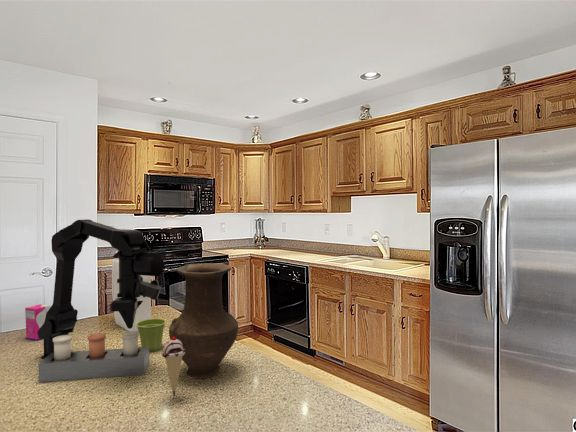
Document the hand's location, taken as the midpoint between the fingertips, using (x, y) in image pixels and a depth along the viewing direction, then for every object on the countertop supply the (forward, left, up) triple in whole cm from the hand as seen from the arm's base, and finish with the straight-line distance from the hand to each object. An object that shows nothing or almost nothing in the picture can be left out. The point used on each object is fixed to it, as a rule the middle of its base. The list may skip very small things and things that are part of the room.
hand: (130, 328), depth 111 cm
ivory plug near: (-18, 0, -8) cm, 20 cm away
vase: (+21, -5, -12) cm, 25 cm away
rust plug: (-9, 0, -8) cm, 12 cm away
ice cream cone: (+14, -19, -12) cm, 27 cm away
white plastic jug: (-10, +44, -12) cm, 47 cm away
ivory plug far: (0, 0, -8) cm, 8 cm away
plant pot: (+3, +17, -12) cm, 21 cm away
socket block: (-9, 0, -12) cm, 15 cm away
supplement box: (-39, +36, -12) cm, 54 cm away
